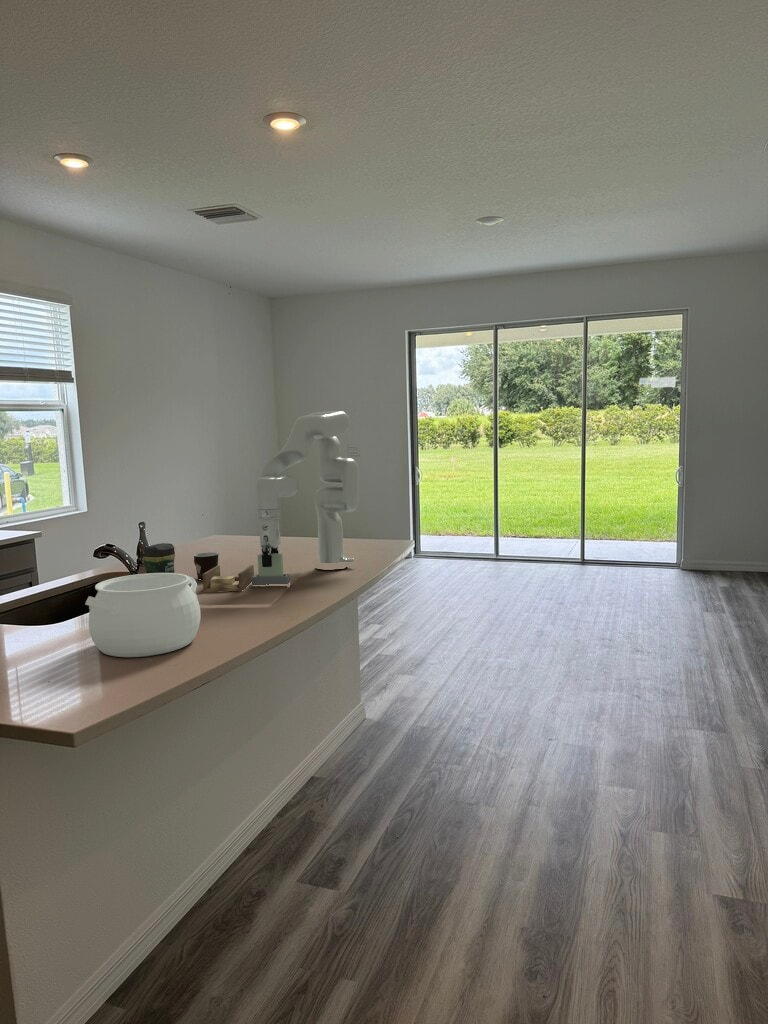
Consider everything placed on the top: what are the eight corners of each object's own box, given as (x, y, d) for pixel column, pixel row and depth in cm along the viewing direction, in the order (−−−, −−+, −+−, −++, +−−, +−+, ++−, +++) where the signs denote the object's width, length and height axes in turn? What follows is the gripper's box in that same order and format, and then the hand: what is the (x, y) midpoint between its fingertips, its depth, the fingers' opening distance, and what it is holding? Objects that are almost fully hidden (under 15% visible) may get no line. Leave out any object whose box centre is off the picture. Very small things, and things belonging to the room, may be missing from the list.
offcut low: (241, 587, 235) (241, 582, 234) (237, 590, 230) (237, 584, 230) (215, 588, 235) (214, 582, 235) (210, 591, 231) (210, 585, 231)
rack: (254, 585, 243) (253, 565, 243) (242, 594, 228) (241, 573, 228) (218, 585, 244) (217, 565, 244) (203, 595, 230) (202, 574, 229)
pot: (168, 624, 195) (164, 566, 193) (228, 639, 178) (224, 577, 176) (64, 650, 172) (59, 586, 171) (121, 671, 156) (116, 600, 154)
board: (283, 585, 238) (282, 553, 236) (282, 586, 236) (281, 554, 234) (260, 585, 238) (259, 553, 237) (259, 586, 236) (257, 554, 235)
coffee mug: (221, 582, 249) (220, 555, 248) (196, 585, 245) (195, 557, 244) (216, 577, 259) (215, 550, 258) (193, 579, 256) (191, 552, 255)
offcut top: (234, 581, 235) (234, 576, 235) (232, 584, 230) (231, 578, 230) (214, 582, 235) (213, 576, 235) (210, 585, 230) (210, 579, 230)
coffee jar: (162, 606, 216) (158, 546, 214) (141, 604, 219) (138, 545, 217) (182, 598, 225) (178, 542, 223) (162, 597, 228) (158, 541, 226)
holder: (291, 586, 240) (290, 573, 239) (287, 590, 234) (286, 577, 233) (256, 586, 241) (256, 573, 240) (252, 590, 235) (251, 577, 234)
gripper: (273, 516, 226) (275, 569, 227) (285, 511, 243) (287, 559, 245) (250, 517, 226) (253, 569, 228) (263, 511, 243) (266, 559, 245)
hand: (270, 564), depth 236 cm, fingers open, 9 cm apart
